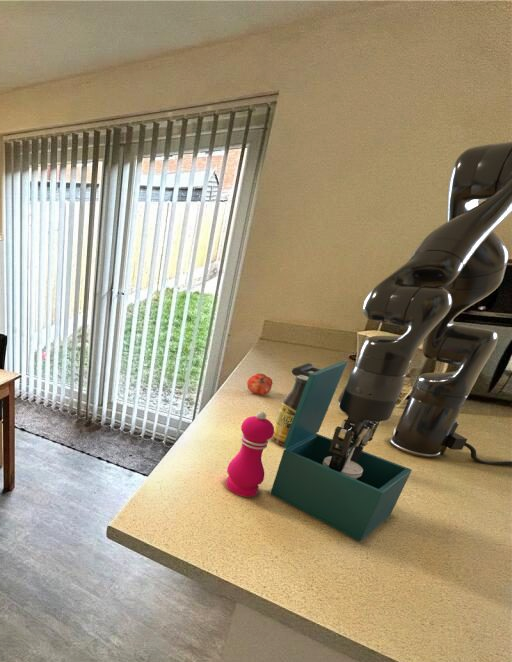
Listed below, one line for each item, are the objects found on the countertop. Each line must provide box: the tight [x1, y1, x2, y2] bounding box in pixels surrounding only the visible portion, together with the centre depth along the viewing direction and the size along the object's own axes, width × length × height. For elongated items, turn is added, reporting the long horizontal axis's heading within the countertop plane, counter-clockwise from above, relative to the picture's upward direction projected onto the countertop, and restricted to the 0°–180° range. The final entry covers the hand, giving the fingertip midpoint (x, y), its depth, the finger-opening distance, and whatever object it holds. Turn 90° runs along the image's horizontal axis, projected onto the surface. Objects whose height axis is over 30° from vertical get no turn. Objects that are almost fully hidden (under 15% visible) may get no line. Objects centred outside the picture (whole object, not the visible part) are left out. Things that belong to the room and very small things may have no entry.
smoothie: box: [322, 448, 363, 480], centre depth 82 cm, size 6×6×14 cm
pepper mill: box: [225, 411, 274, 498], centre depth 87 cm, size 7×7×20 cm
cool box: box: [270, 432, 413, 542], centre depth 83 cm, size 17×14×12 cm
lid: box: [282, 360, 348, 450], centre depth 85 cm, size 17×14×6 cm
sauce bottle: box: [270, 375, 309, 447], centre depth 104 cm, size 6×6×20 cm
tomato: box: [246, 372, 273, 396], centre depth 137 cm, size 7×7×10 cm
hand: (343, 464), depth 81 cm, fingers closed on smoothie, 6 cm apart
